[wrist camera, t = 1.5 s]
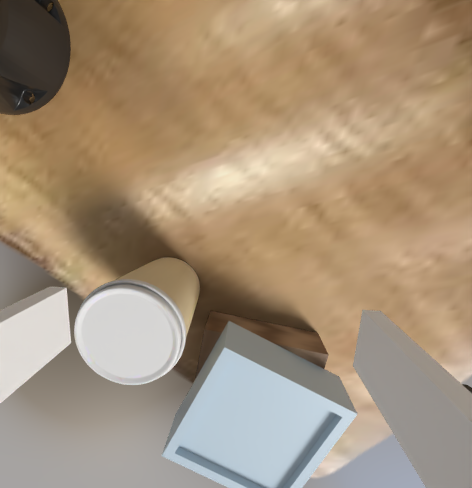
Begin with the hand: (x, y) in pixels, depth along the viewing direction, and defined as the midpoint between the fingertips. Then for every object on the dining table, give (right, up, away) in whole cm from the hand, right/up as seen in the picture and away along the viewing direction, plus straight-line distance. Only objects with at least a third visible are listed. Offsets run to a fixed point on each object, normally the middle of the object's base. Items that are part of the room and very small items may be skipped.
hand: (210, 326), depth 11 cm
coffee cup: (-7, -2, +21) cm, 23 cm away
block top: (+3, -14, +18) cm, 24 cm away
